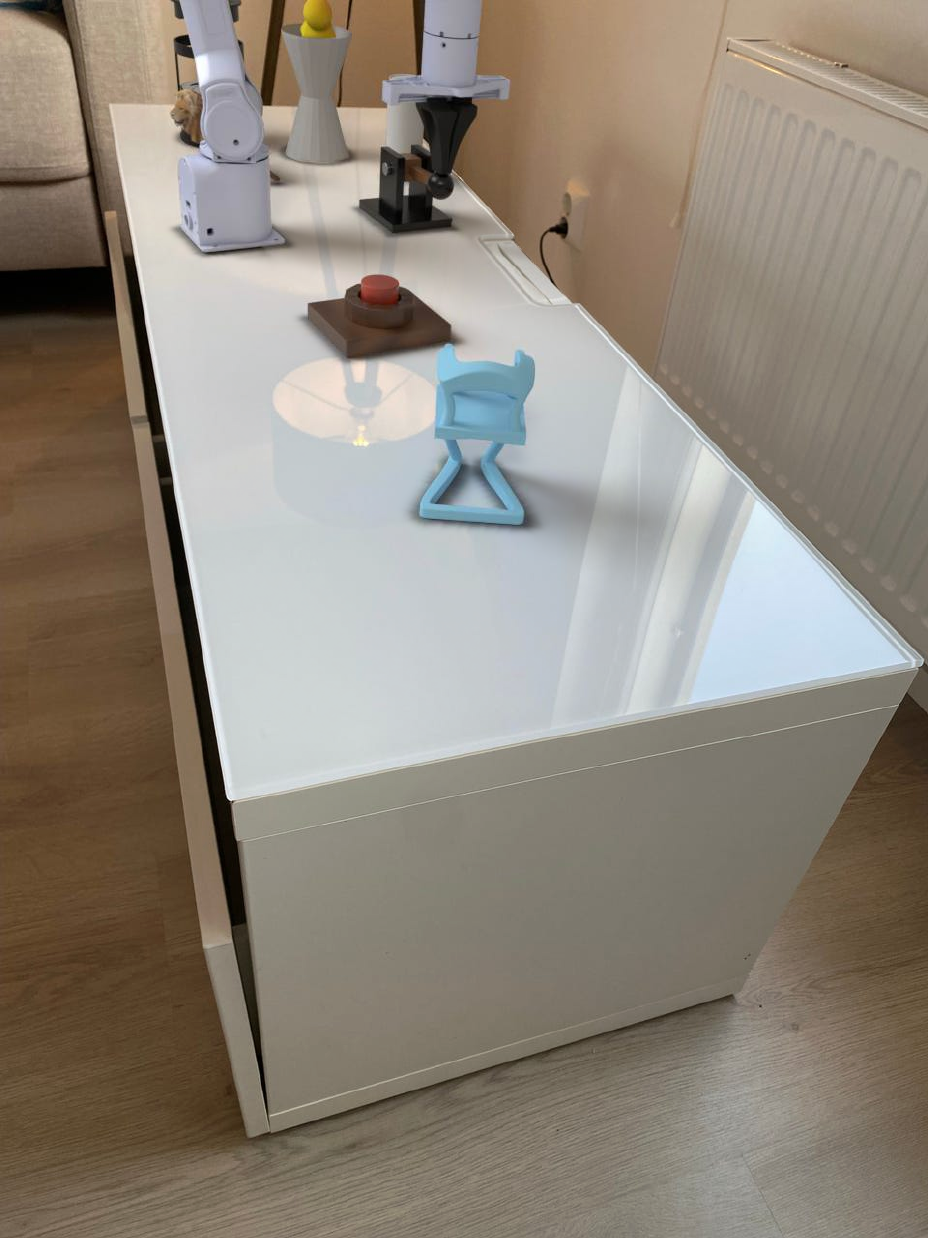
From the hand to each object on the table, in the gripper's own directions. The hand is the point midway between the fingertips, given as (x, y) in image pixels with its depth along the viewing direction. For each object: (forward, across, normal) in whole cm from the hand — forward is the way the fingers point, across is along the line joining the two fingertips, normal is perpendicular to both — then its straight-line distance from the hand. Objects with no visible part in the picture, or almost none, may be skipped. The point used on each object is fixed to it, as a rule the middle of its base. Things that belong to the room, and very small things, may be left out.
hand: (441, 171), depth 112 cm
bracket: (+8, 0, +8) cm, 11 cm away
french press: (+8, -11, +44) cm, 46 cm away
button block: (+8, -17, -19) cm, 27 cm away
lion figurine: (+8, -15, +29) cm, 34 cm away
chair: (+8, -23, -47) cm, 53 cm away
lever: (+3, 0, +4) cm, 5 cm away
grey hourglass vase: (+8, 0, +34) cm, 35 cm away
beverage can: (+8, +7, +22) cm, 24 cm away
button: (+5, -17, -19) cm, 26 cm away
